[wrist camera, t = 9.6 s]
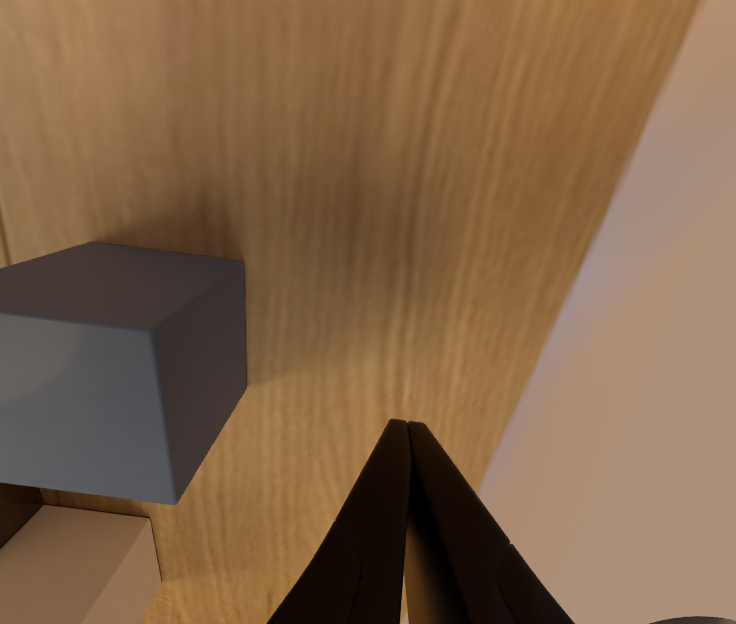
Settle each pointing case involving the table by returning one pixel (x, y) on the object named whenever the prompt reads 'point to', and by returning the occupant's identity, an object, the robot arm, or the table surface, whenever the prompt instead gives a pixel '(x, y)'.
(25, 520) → the straightedge
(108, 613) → the cream block
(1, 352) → the slate block
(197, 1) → the table surface
